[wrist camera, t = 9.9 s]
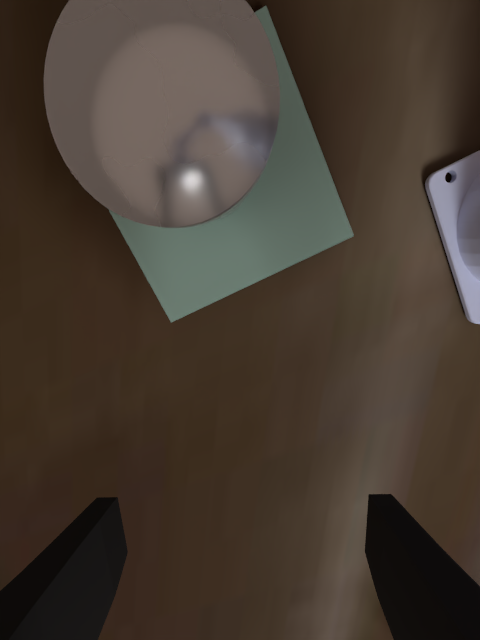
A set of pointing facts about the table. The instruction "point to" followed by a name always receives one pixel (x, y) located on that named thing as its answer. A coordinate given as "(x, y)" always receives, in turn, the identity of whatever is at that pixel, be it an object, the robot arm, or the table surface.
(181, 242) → the rubber mat
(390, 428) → the table surface
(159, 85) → the polished metal knob
